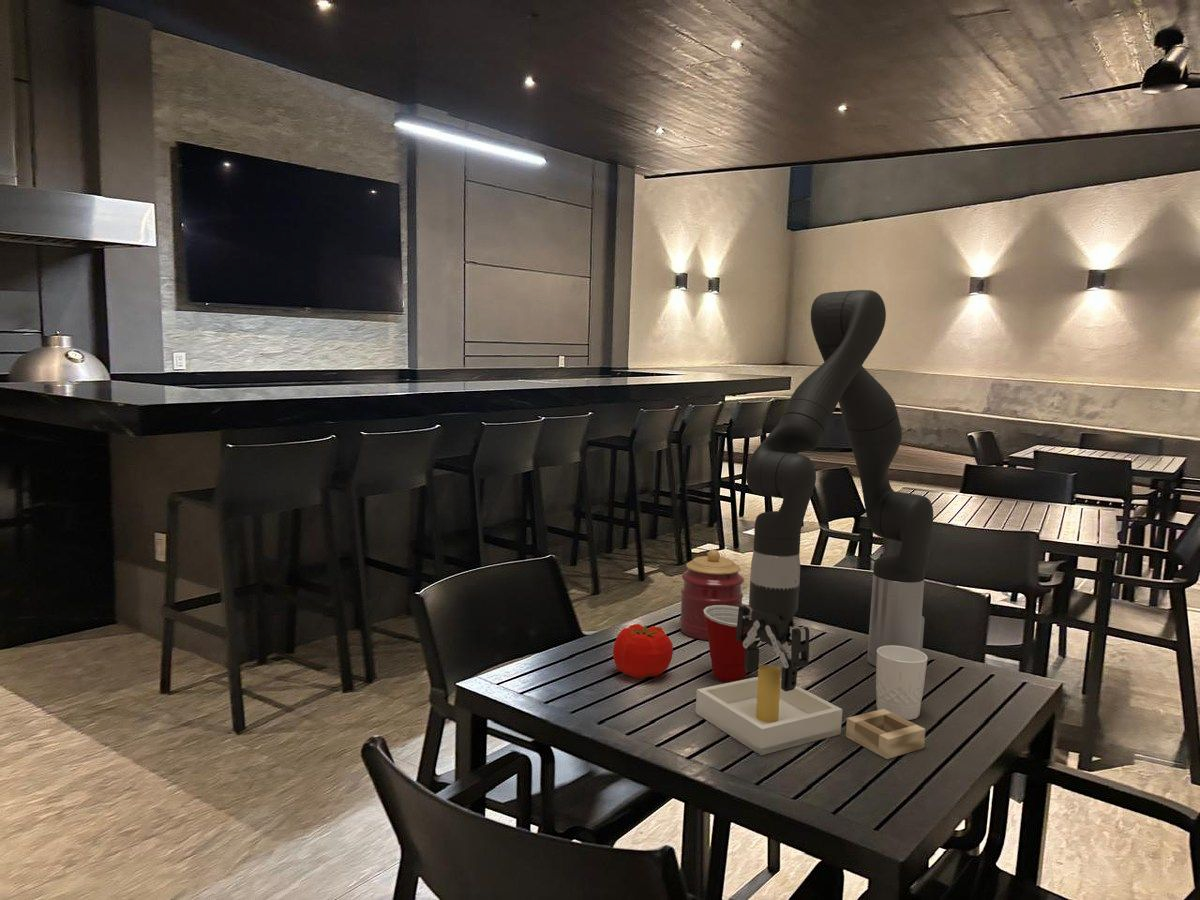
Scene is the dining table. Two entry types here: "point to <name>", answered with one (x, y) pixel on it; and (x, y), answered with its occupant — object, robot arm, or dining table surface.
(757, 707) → the dowel
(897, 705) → the white cup
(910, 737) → the socket block
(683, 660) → the dining table surface
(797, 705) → the tray
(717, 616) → the plastic cup
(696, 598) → the canister
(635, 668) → the tomato
